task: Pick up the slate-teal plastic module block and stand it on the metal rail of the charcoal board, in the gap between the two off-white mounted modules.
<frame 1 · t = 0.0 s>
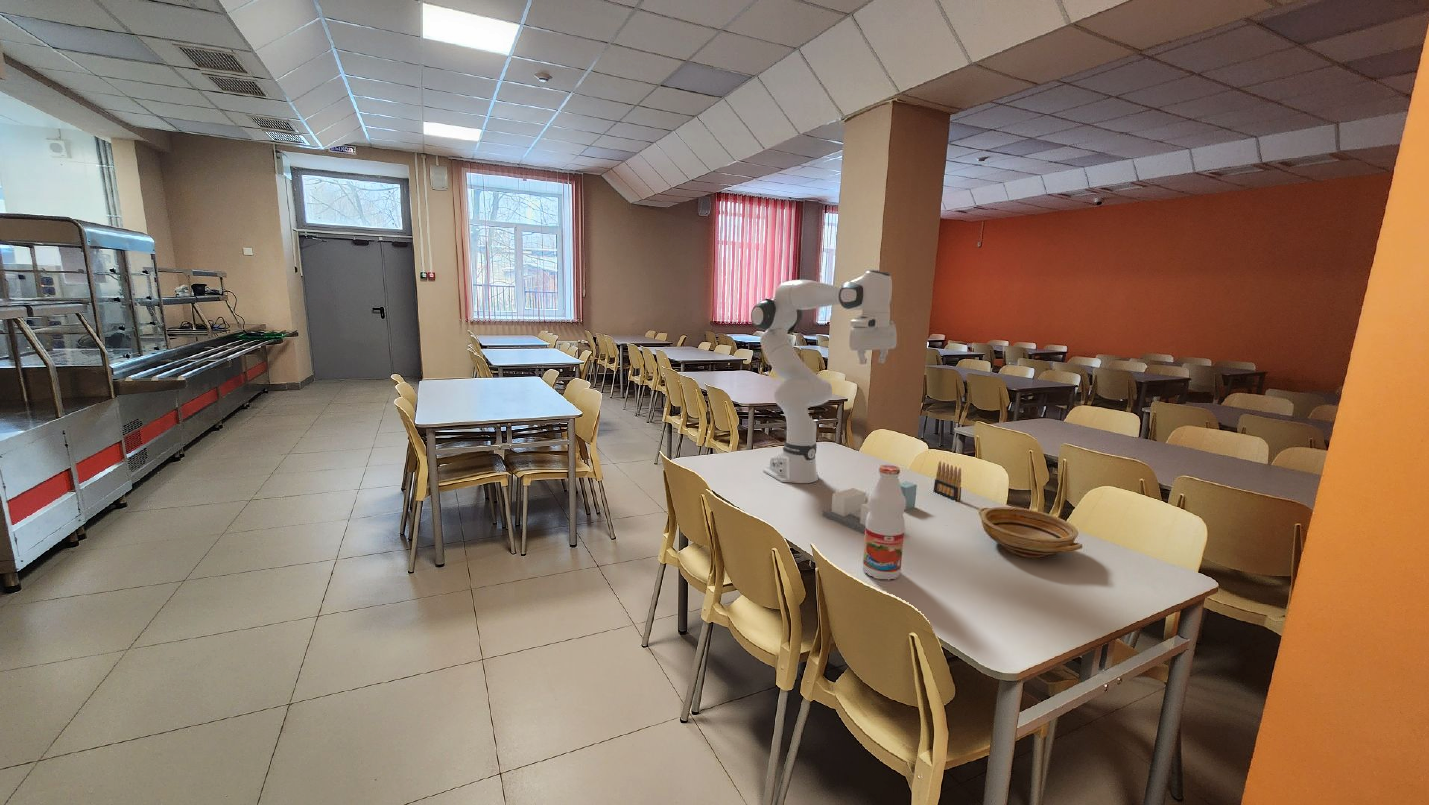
hand: (872, 363, 186), 48 cm above the table, tool pointing down, fingers open, 8 cm apart
ammunition clip: (946, 497, 201), on the table
fruit juice: (880, 573, 144), on the table
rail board: (861, 521, 177), on the table
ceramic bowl: (1024, 549, 160), on the table
module block: (904, 507, 190), on the table
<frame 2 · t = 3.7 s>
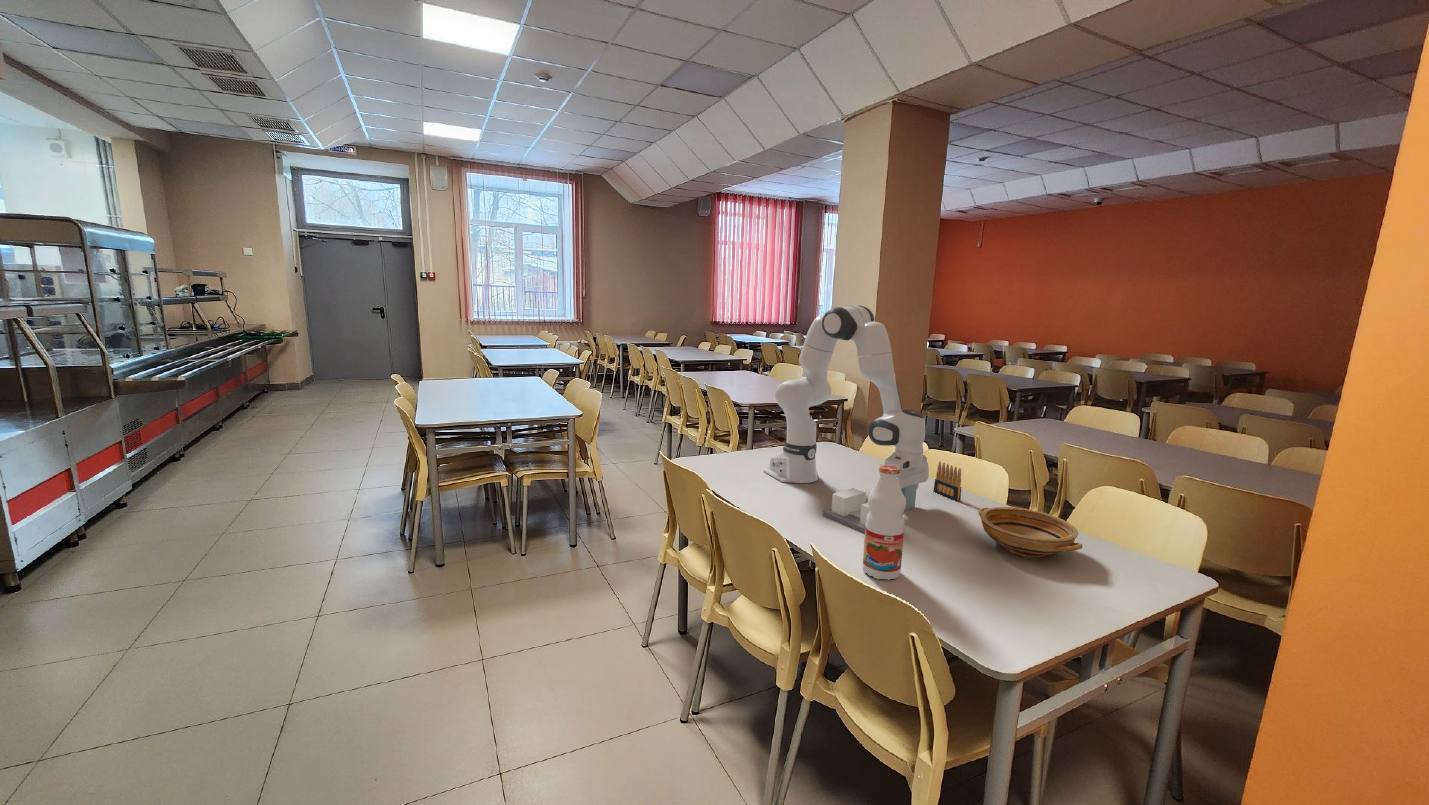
hand: (905, 498, 190), 3 cm above the table, tool pointing down, fingers closed on module block, 6 cm apart
module block: (904, 507, 190), on the table, touching gripper
everything else where it was.
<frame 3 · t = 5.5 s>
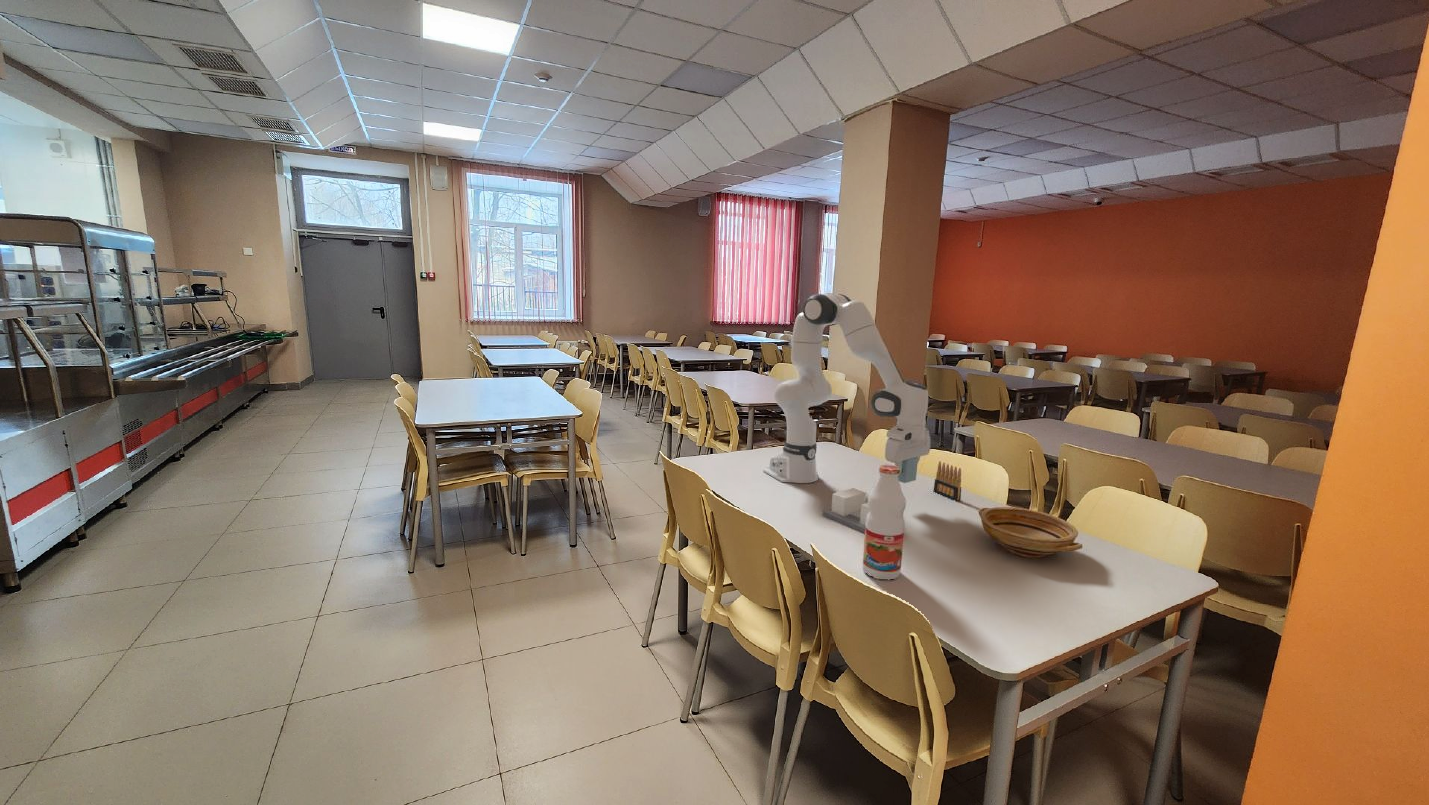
hand: (906, 470, 188), 13 cm above the table, tool pointing down, fingers closed on module block, 6 cm apart
module block: (905, 479, 189), point 9 cm above the table, touching gripper
everything else where it was.
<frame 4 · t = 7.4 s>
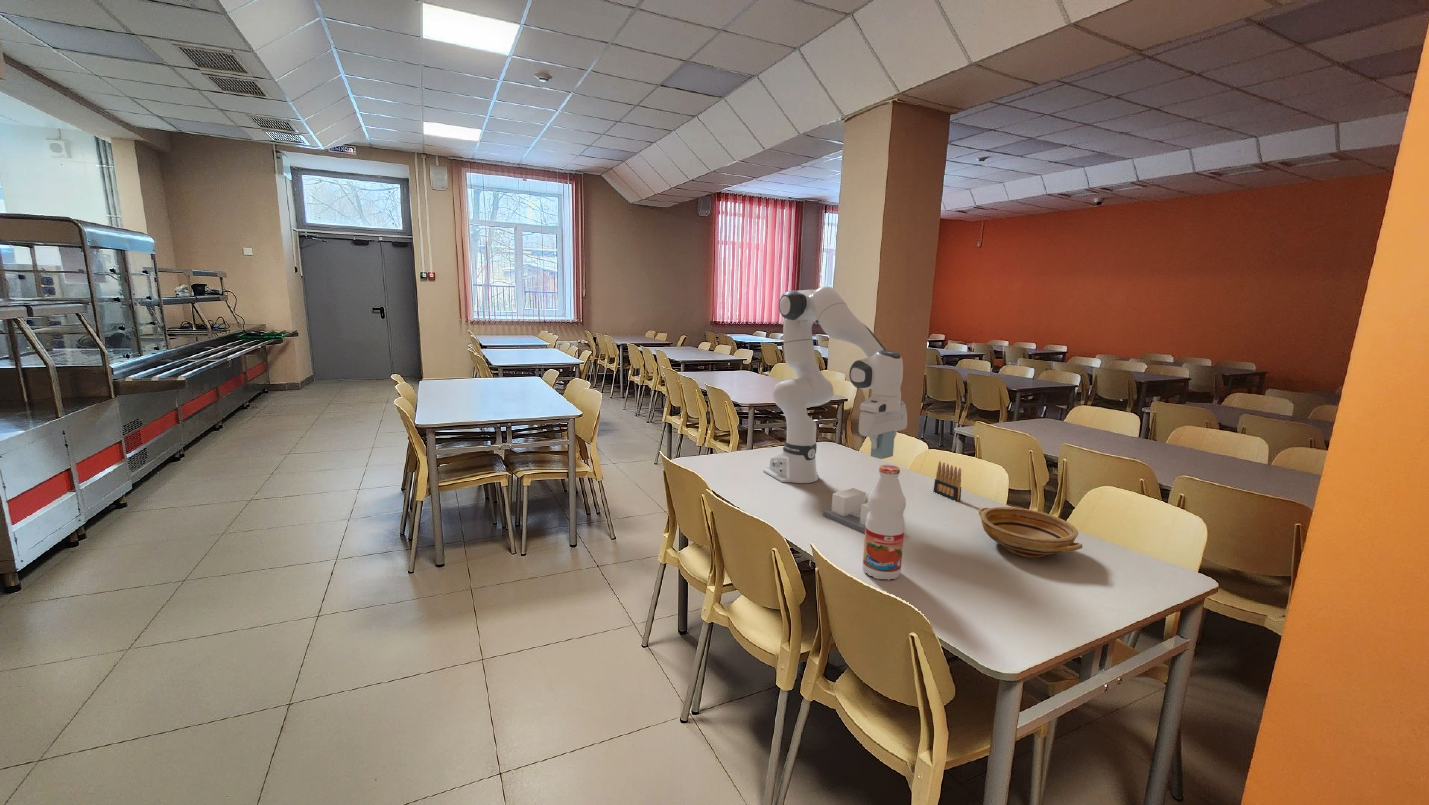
hand: (882, 446, 177), 23 cm above the table, tool pointing down, fingers closed on module block, 6 cm apart
module block: (881, 456, 178), point 20 cm above the table, touching gripper
everything else where it was.
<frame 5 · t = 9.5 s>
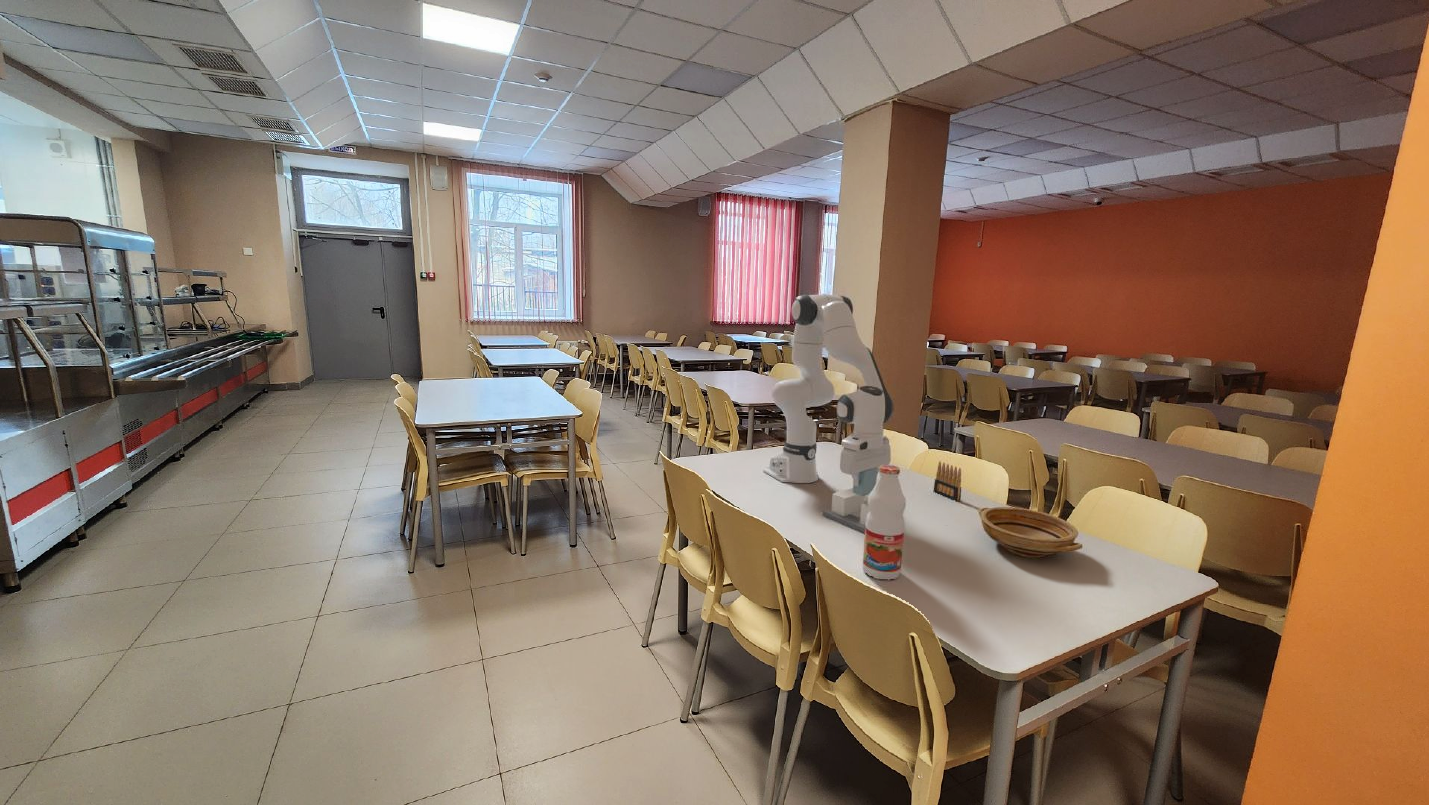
hand: (864, 483, 175), 13 cm above the table, tool pointing down, fingers closed on module block, 6 cm apart
module block: (864, 492, 175), point 9 cm above the table, touching gripper
everything else where it was.
when the fingers open (7 cm above the table, at t = 11.2 s): module block drops 1 cm, resting on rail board.
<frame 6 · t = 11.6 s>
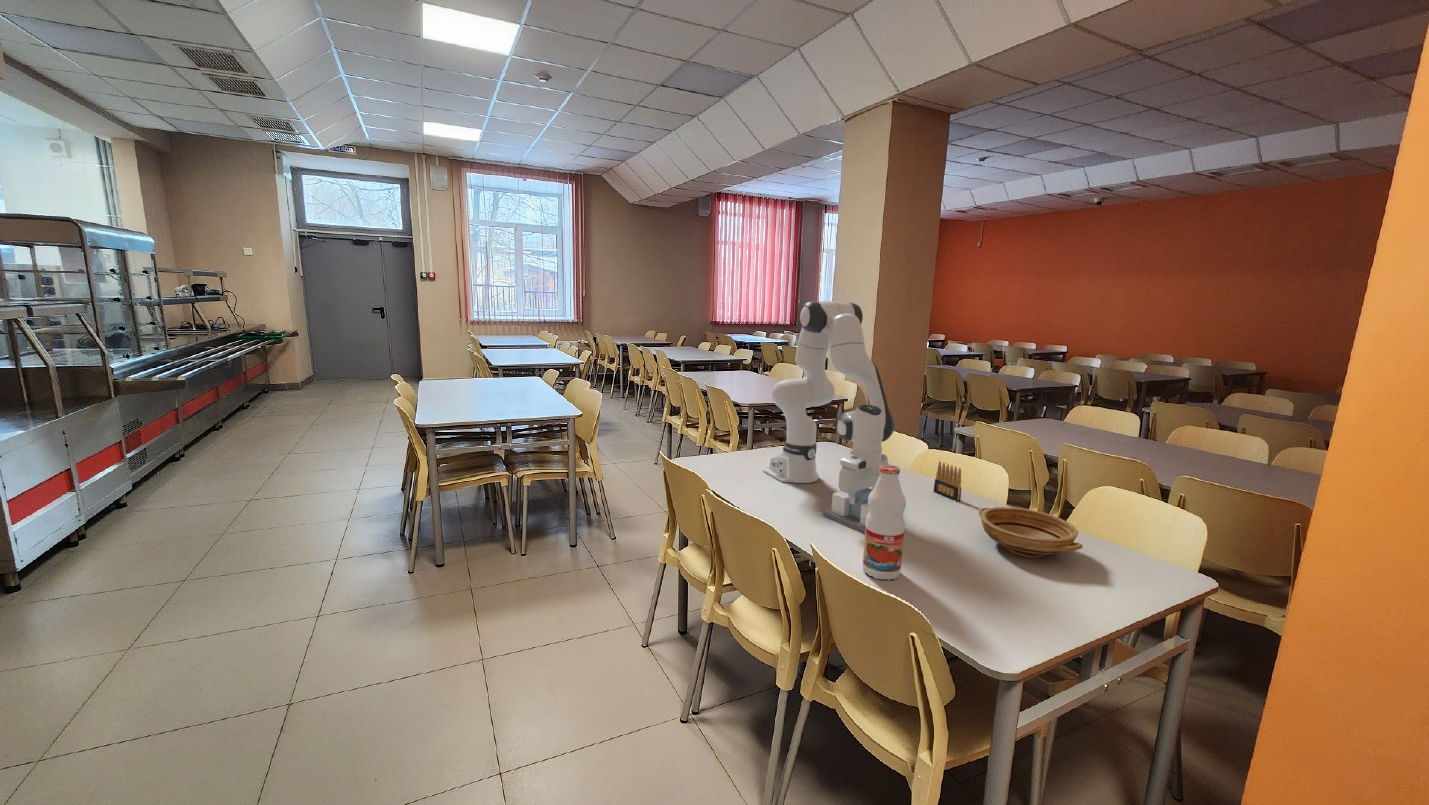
hand: (863, 500, 176), 7 cm above the table, tool pointing down, fingers open, 8 cm apart
module block: (862, 514, 177), point 2 cm above the table, touching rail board
everything else where it was.
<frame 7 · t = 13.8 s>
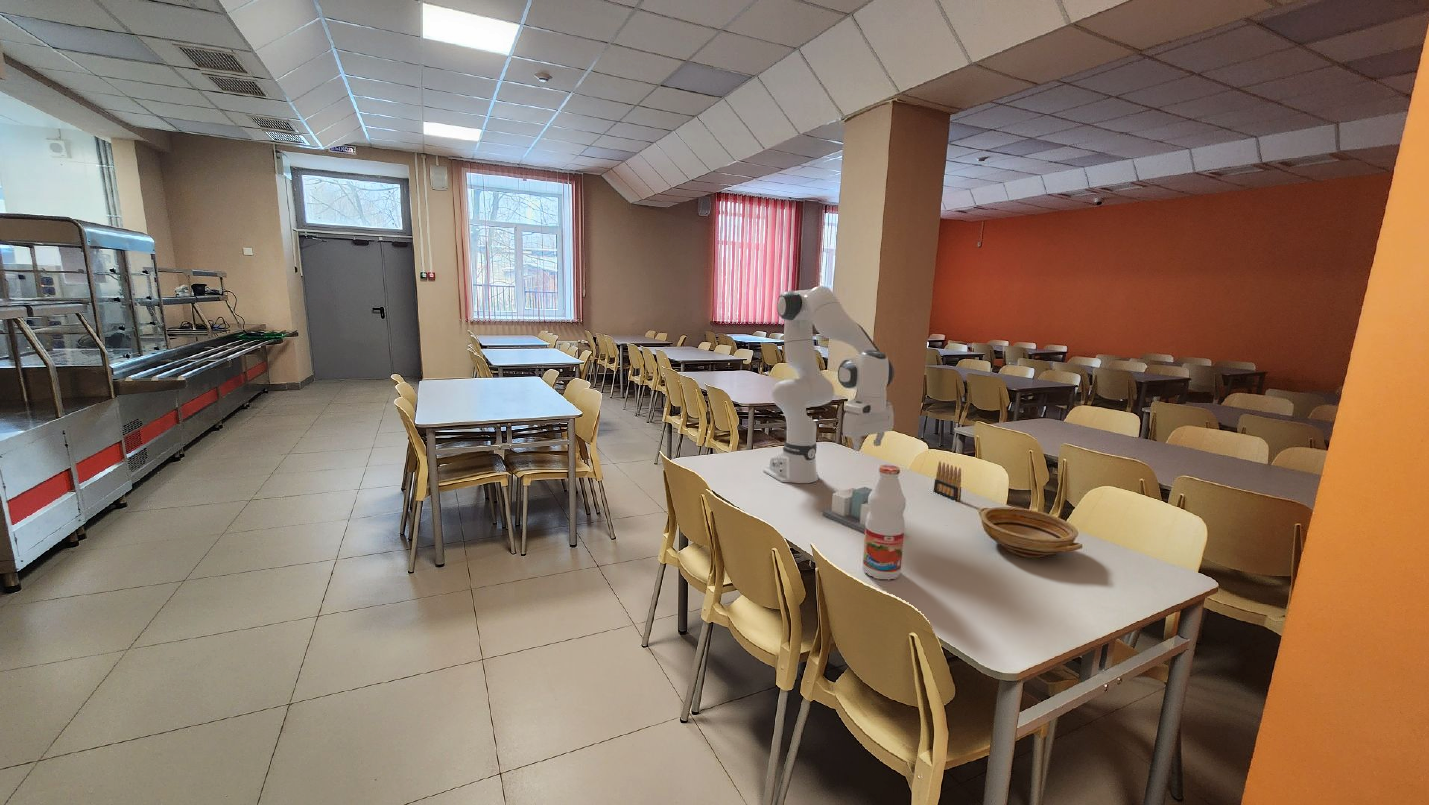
hand: (867, 447, 175), 23 cm above the table, tool pointing down, fingers open, 8 cm apart
nothing on the table moved.
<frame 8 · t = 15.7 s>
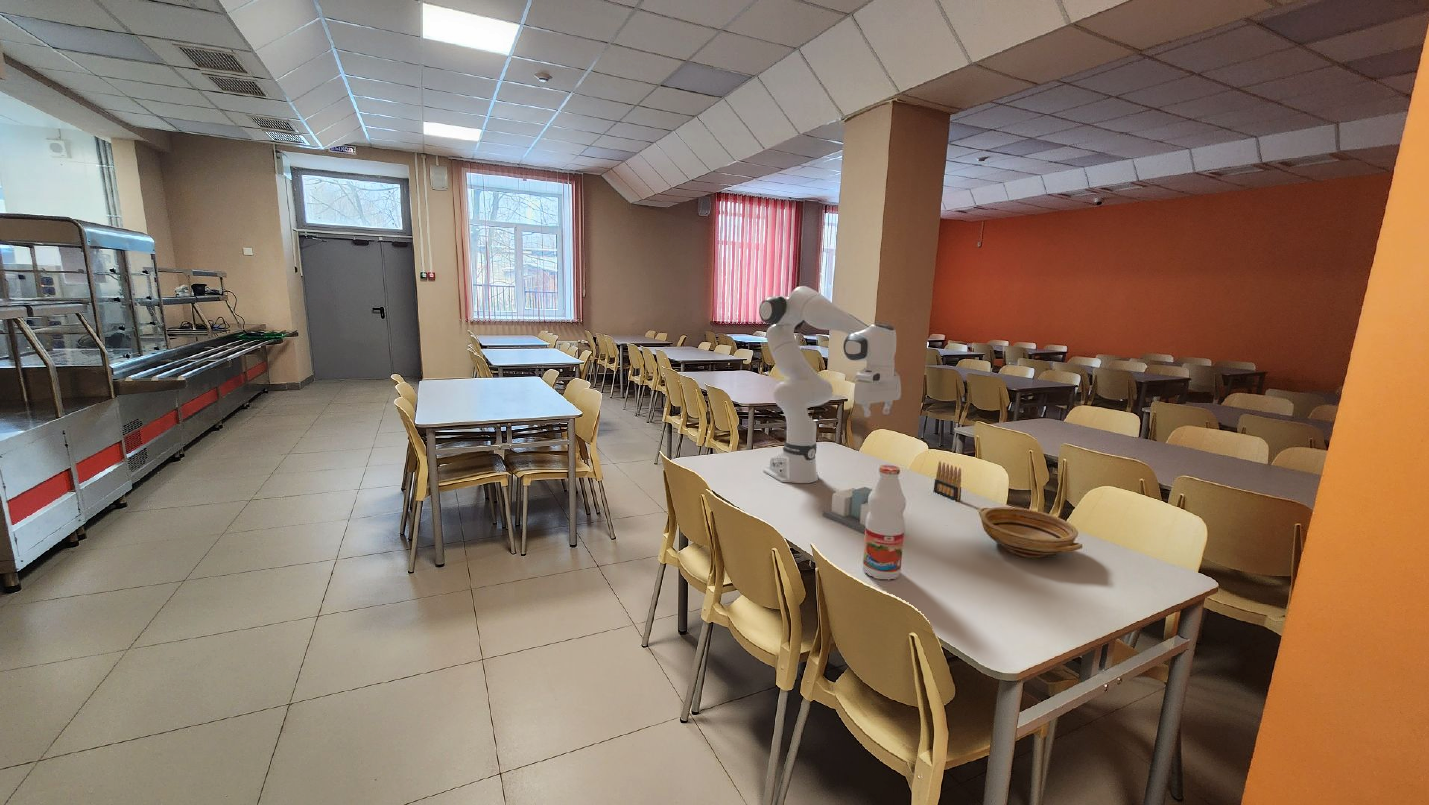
hand: (876, 415, 186), 31 cm above the table, tool pointing down, fingers open, 8 cm apart
nothing on the table moved.
at the end: module block 0.0 cm off-centre on the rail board, point 2.1 cm above the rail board's base; module block tilted 0°; the gripper is holding nothing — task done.
